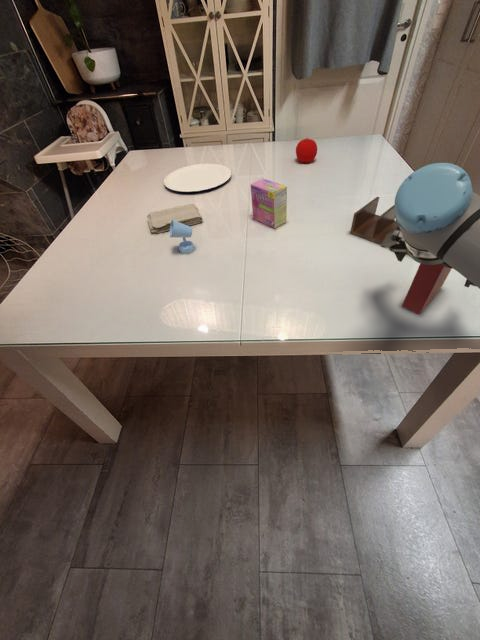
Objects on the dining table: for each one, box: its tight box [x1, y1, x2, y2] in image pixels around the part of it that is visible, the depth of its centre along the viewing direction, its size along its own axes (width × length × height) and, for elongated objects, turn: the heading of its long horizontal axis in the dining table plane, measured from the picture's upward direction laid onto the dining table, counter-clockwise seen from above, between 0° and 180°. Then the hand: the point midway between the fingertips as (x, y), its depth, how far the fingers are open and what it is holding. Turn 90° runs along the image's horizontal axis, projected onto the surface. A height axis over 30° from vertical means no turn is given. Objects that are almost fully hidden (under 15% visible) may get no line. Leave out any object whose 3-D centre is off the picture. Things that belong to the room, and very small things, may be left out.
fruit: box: [295, 136, 318, 164], centre depth 128 cm, size 9×9×10 cm
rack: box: [349, 196, 410, 256], centre depth 85 cm, size 20×13×6 cm, turn 44°
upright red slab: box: [401, 263, 453, 315], centre depth 64 cm, size 4×11×15 cm, turn 134°
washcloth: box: [146, 203, 203, 234], centre depth 103 cm, size 12×18×3 cm, turn 109°
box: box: [250, 178, 288, 229], centre depth 95 cm, size 10×6×12 cm, turn 42°
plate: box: [163, 162, 232, 193], centre depth 127 cm, size 29×29×2 cm
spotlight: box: [169, 220, 195, 255], centre depth 88 cm, size 5×10×7 cm
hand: (434, 267), depth 63 cm, fingers open, 13 cm apart
